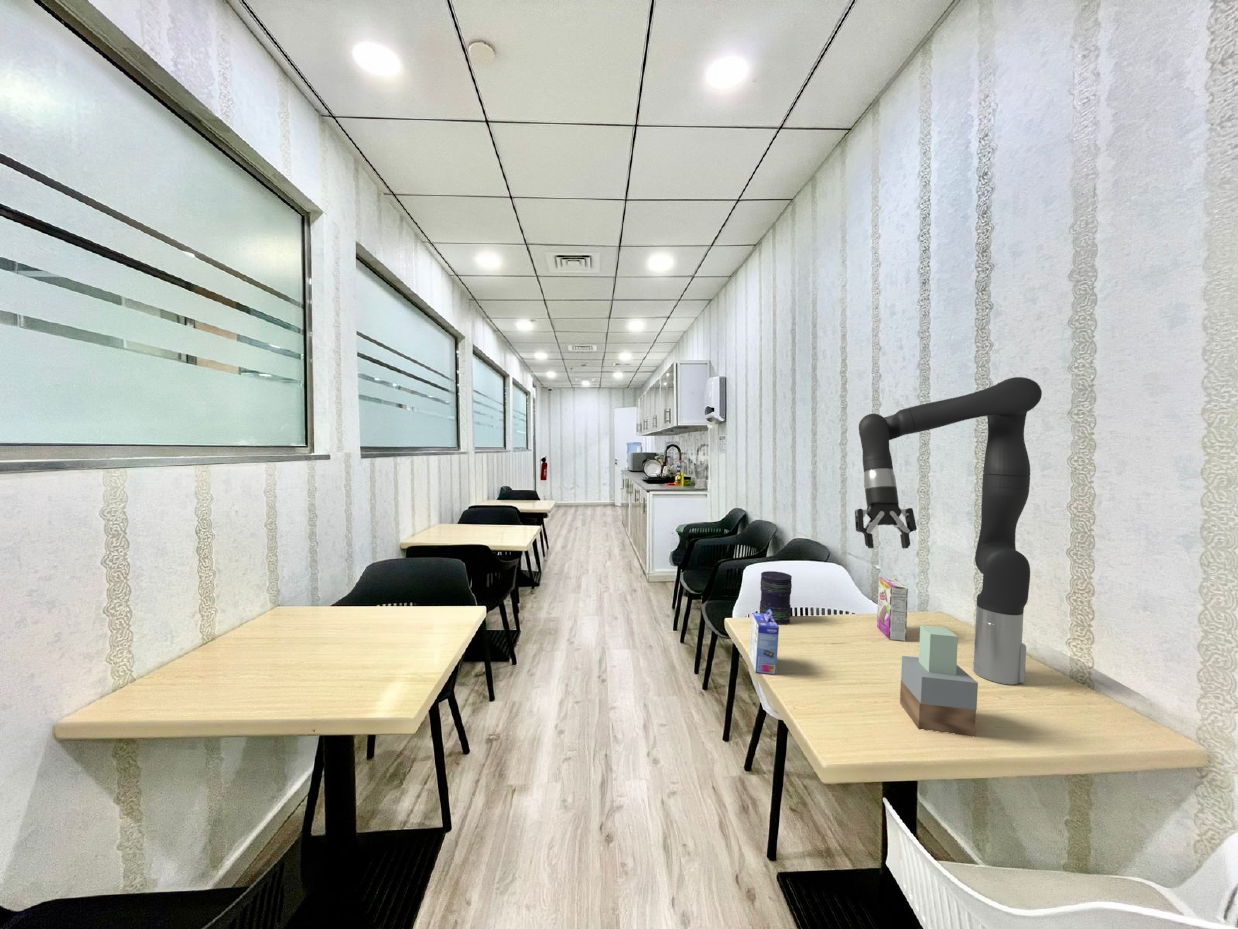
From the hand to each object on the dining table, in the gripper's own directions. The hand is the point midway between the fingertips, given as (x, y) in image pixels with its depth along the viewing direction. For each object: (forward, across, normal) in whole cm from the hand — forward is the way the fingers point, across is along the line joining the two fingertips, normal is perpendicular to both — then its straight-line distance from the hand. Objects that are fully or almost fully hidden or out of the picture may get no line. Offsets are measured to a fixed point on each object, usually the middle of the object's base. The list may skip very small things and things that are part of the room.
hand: (888, 548), depth 122 cm
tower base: (+36, -2, -16) cm, 40 cm away
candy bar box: (+25, +10, +31) cm, 41 cm away
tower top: (+31, -2, -18) cm, 36 cm away
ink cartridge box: (+30, -34, +2) cm, 45 cm away
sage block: (+26, -1, -19) cm, 32 cm away
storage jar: (+22, -23, +36) cm, 48 cm away
